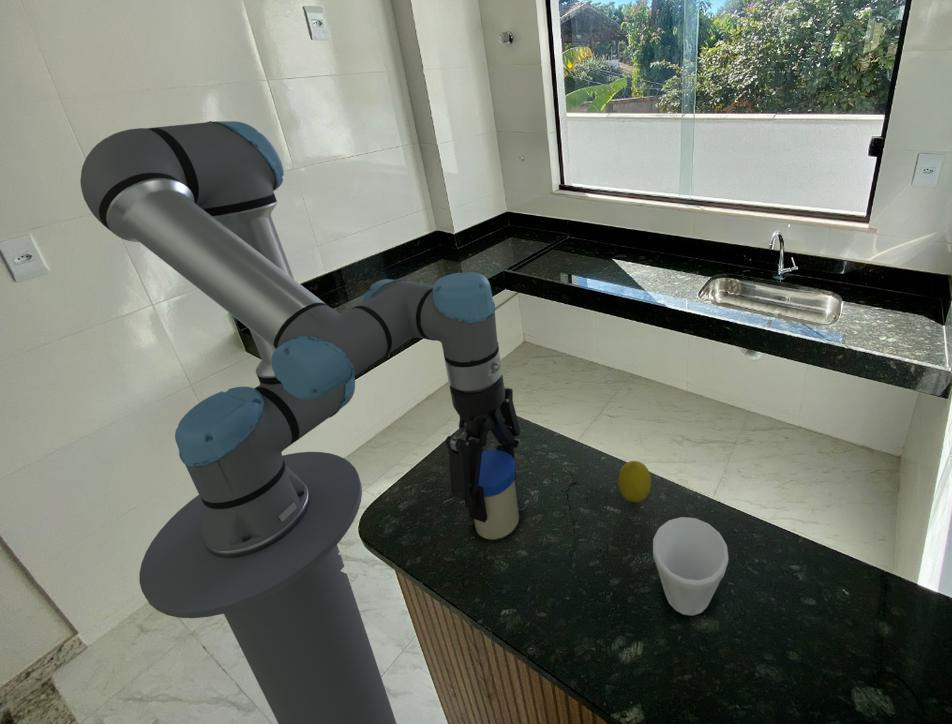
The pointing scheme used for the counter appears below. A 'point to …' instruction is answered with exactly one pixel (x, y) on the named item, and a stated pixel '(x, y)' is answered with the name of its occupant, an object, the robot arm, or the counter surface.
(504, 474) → the jar lid
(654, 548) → the cup
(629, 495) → the lemon
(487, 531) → the jar
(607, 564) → the counter surface
